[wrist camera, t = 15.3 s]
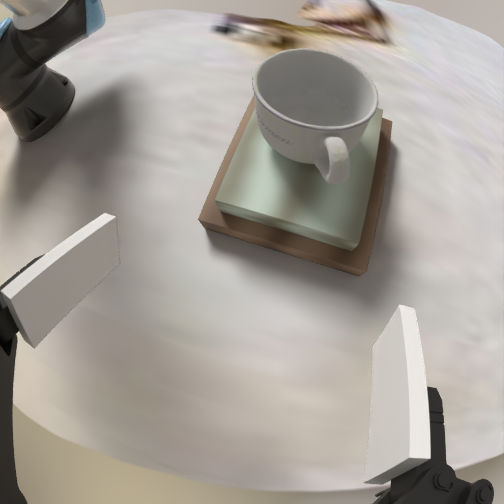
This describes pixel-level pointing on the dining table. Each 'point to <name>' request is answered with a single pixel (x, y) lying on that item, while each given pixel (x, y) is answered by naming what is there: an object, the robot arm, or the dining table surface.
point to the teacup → (314, 108)
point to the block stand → (300, 198)
